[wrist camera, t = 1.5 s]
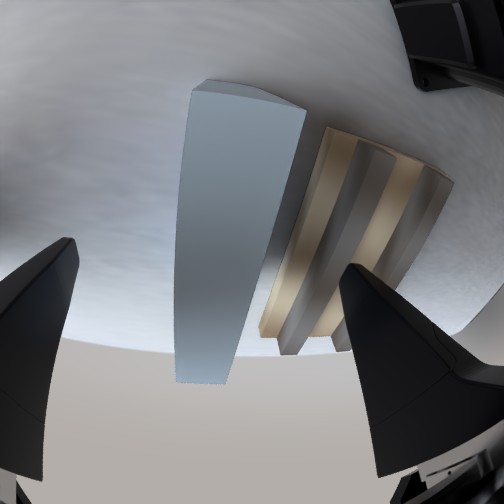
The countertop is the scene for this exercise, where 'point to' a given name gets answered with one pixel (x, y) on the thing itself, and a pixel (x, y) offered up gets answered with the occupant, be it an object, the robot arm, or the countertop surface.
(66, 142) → the countertop surface
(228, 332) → the door panel
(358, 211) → the door track
